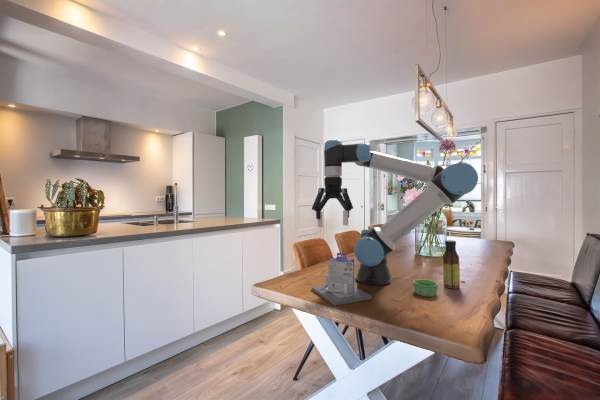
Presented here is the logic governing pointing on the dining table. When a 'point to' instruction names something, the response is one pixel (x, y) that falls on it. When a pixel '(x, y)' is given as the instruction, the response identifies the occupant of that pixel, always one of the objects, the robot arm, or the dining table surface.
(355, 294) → the pin tray
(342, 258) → the ink cartridge box
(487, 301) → the dining table surface
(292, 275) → the dining table surface
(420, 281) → the ramekin
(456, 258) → the sauce bottle
